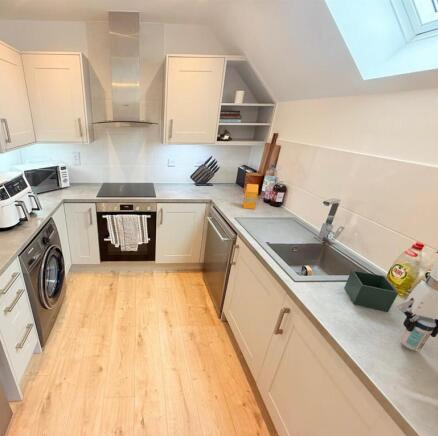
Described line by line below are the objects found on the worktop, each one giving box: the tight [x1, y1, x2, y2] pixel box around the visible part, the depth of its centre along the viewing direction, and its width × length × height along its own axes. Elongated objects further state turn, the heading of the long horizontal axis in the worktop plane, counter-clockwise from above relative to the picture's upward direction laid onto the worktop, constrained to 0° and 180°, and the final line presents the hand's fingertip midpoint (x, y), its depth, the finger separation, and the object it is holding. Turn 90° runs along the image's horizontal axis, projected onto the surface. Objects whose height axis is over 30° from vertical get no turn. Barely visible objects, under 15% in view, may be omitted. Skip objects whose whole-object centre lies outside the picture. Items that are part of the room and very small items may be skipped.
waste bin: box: [343, 269, 399, 313], centre depth 97 cm, size 11×11×10 cm
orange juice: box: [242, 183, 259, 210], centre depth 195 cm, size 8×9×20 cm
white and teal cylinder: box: [399, 316, 436, 352], centre depth 76 cm, size 5×5×12 cm
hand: (418, 330), depth 75 cm, fingers closed on white and teal cylinder, 4 cm apart
